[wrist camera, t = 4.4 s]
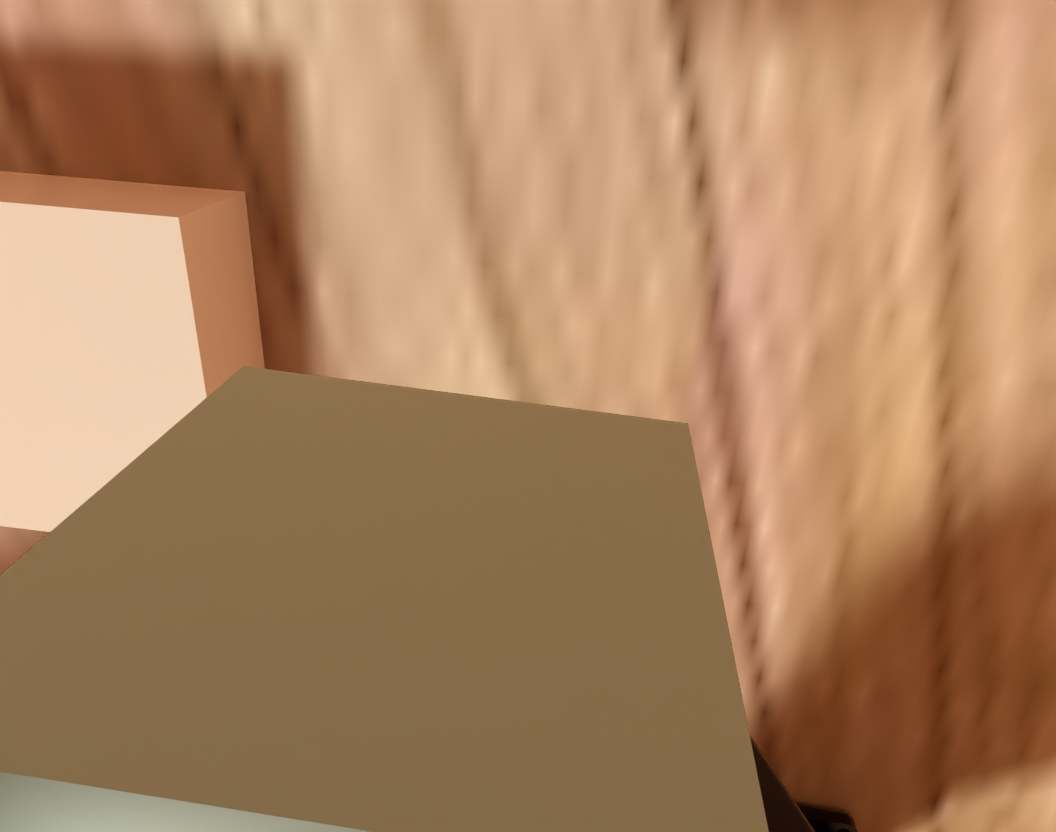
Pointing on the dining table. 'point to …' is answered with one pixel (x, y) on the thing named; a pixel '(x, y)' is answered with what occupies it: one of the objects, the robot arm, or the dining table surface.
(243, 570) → the sage cube
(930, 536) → the dining table surface
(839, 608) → the dining table surface
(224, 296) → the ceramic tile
